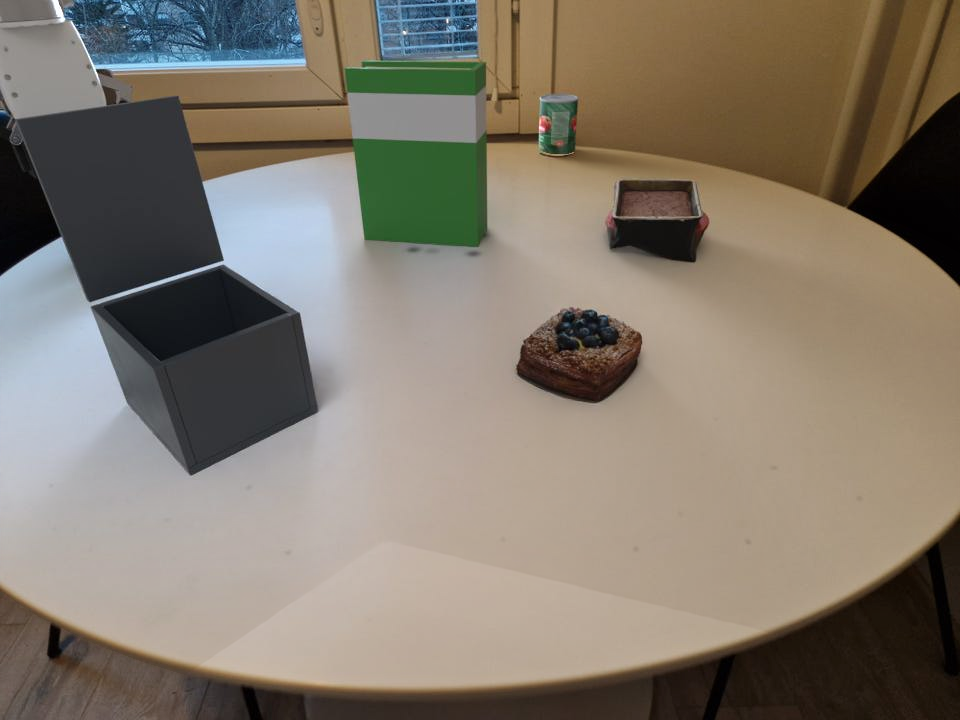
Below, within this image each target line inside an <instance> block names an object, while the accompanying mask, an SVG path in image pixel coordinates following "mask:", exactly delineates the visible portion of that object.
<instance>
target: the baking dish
mask: <svg viewBox="0 0 960 720" xmlns="http://www.w3.org/2000/svg"><path fill="white" fill-rule="evenodd" d="M613 189H614V191H613V192H614V194H613V205H612V209H611V210H610V211H609V212H608V214H607V216H606V218H605V221H604V222H605V226H606V230H607V236H608V241H609V249H610V250H615V249H619V248H624V247H629V246H630V247H632V248H635V249H639V250H642V251H645V252H648V253H651V254H654V255H657V256H659V257H663V258H666V259H669V260H672V261H678V262H686V263H687V262H688V263H696V261H697V250H698V248H699V245H700V243H701V241H702V239H703V237H704V234H705V231H706V230H707V229H708V227H709V225H710V218H709V216H708V215H707V214H706V212H704V211H703V209H702V206H701V201H700V195H699V190H698V185H697V182H696V181H695V180H692V179H687V178H686V179H683V178H682V179H681V178H654V177H653V178H647V177H643V178H641V177H640V178H621V179H617V180H616V181H615V183H614V186H613Z"/></svg>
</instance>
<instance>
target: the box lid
mask: <svg viewBox="0 0 960 720" xmlns="http://www.w3.org/2000/svg"><path fill="white" fill-rule="evenodd" d="M15 121H16V124H17V126H18V129H19V131H20V134H21V136H22V139H23V141H24V144H25V146H26V149H27V151H28V154H29V156H30V159H31V161H32V164H33V166H34V169H35V171H36V174H37V177H38V181H39V184H40V186H41V189H42V191H43V194H44V196H45V199H46V201H47V204H48V206H49V209H50V211H51V214H52V216H53V219H54V222H55V224H56V227H57V229H58V232H59V234H60V236H61V240H62V242H63V244H64V246H65V249H66V251H67V254H68V257H69V259H70V262H71V265H72V267H73V269H74V272H75V274H76V277H77V279H78V281H79V285H80V287H81V289H82V291H83V295H84V297H85V299H86V301H87V302H88V303H93V302H95V301H98V300H99V301H100V300H102V299H105V298H109V297H112V296H114V295H118V294H122V293H125V292H128V291H131V290H135V289H137V288H140V287H144V286H147V285H150V284H154V283H158V282H160V281H163V280H166V279H170V278H173V277H177V276H179V275H182V274H186V273H188V272H193V271H195V270H199V269H202V268H205V267H208V266H212V265H214V264H219V263H221V262H224V261H225V259H224V256H223V252H222V248H221V245H220V241H219V237H218V233H217V230H216V226H215V223H214V219H213V215H212V211H211V208H210V204H209V201H208V196H207V193H206V190H205V187H204V182H203V180H202V175H201V172H200V168H199V164H198V160H197V158H196V153H195V150H194V146H193V142H192V139H191V136H190V131H189V128H188V125H187V121H186V117H185V113H184V110H183V107H182V103H181V98H180V96H179V95H170V96H169V95H168V96H162V97H157V98H149V99H142V100H135V101H130V102H128V103H121V104H114V105H107V106H100V107H94V108H87V109H80V110H73V111H66V112H60V113H53V114H46V115H39V116H33V117H26V118H19V119H15Z"/></svg>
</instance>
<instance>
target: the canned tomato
mask: <svg viewBox="0 0 960 720" xmlns="http://www.w3.org/2000/svg"><path fill="white" fill-rule="evenodd" d="M578 106H579V96H578V95H573V94H568V93H549V94H544V95H541V96H540V97H539V119H538V120H539V122H538V124H539V125H538V149H540V151H543V152H546V153H550V154H569V153H572V152H574V151H575V152H576V140H577V125H578V124H577V123H578V108H579V107H578Z"/></svg>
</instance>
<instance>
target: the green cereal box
mask: <svg viewBox="0 0 960 720" xmlns="http://www.w3.org/2000/svg"><path fill="white" fill-rule="evenodd" d="M343 70H344V77H345V85H346V94H347V102H348V109H349V119H350V120H349V121H350V128H351V136H352V137H351V138H352V145H353V153H354V154H353V155H354V162H355V170H356V179H357V187H358V196H359V205H360V213H361V221H362V222H361V223H362V230H363V231H362V232H363V239H364V240H366V241H378V242H379V241H380V242H393V243H395V242H396V243H409V244H410V243H411V244H424V245H425V244H428V245H442V246H459V247H473V248H477V247H479V246H480V244H481V242H482V240H483V239H484V236H485V234H486V233H487V230H488V159H487V158H488V146H487V145H488V137H487V136H488V135H487V134H488V133H487V131H488V129H487V128H488V127H487V61H450V60H449V61H445V60H444V61H441V60H440V61H439V60H437V61H436V60H375V59H374V60H373V59H372V60H371V59H369V60H368V59H363V60H361V67H354V66H353V67H349V66H348V67H344V69H343Z"/></svg>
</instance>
